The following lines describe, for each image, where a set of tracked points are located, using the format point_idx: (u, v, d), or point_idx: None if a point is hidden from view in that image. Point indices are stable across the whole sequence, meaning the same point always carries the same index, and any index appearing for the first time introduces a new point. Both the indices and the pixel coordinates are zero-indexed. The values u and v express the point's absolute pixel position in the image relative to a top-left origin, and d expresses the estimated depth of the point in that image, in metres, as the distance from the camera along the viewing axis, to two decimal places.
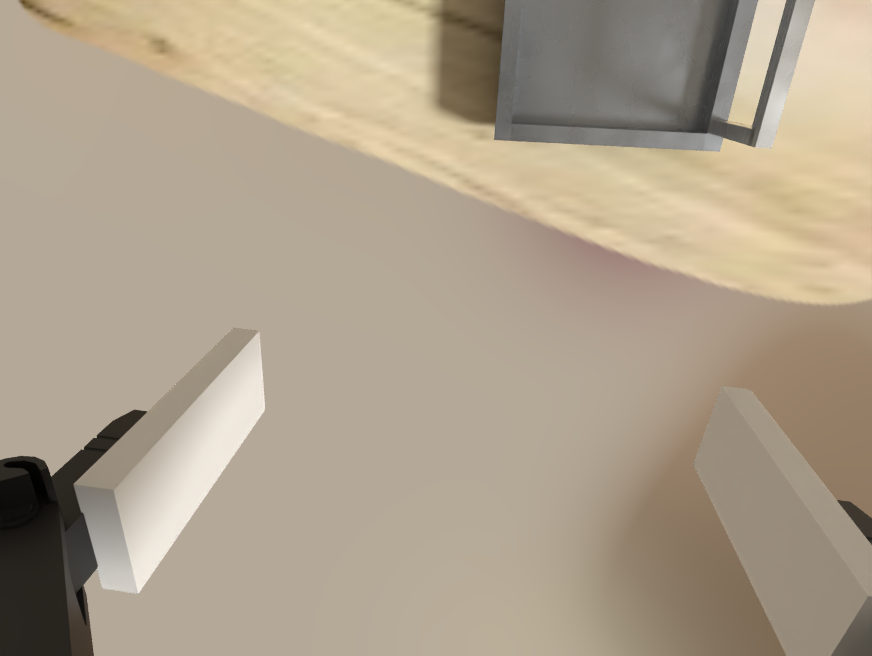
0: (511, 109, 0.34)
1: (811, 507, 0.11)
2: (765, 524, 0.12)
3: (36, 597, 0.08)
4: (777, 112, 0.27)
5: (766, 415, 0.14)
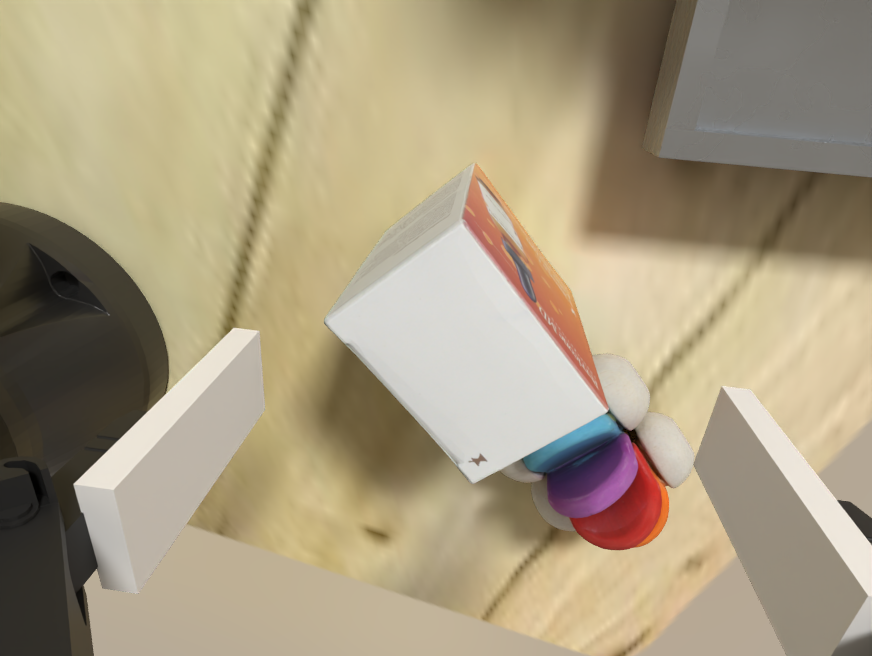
0: None
1: (811, 507, 0.11)
2: (765, 524, 0.12)
3: (36, 597, 0.08)
4: None
5: (766, 415, 0.14)
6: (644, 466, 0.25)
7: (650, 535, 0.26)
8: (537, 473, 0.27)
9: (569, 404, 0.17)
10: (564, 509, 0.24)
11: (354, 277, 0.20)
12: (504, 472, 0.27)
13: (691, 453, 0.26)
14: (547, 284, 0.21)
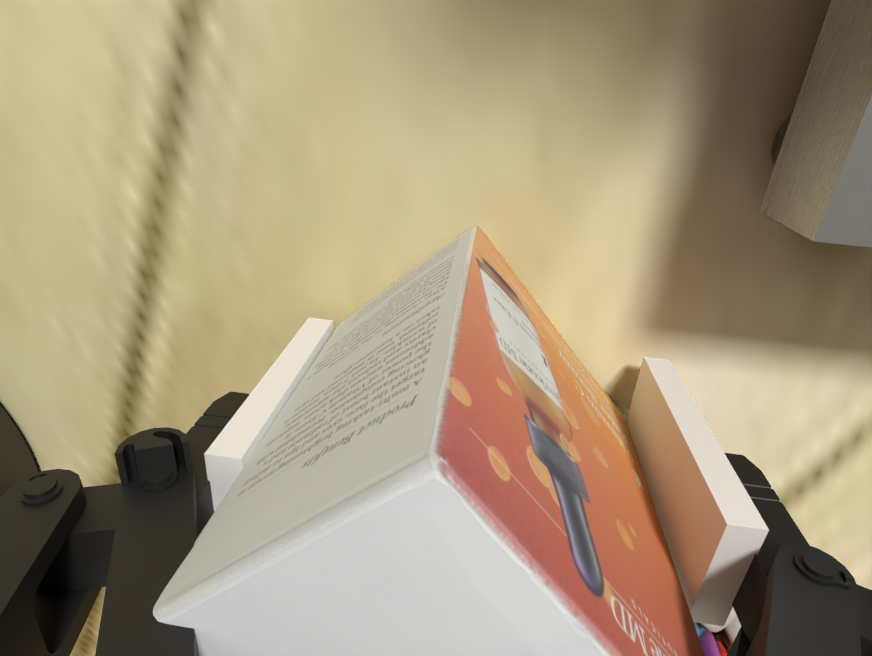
0: None
1: (697, 455, 0.12)
2: (666, 476, 0.13)
3: (169, 559, 0.09)
4: None
5: (678, 381, 0.15)
6: None
7: None
8: None
9: None
10: None
11: (252, 459, 0.11)
12: None
13: None
14: (603, 460, 0.12)
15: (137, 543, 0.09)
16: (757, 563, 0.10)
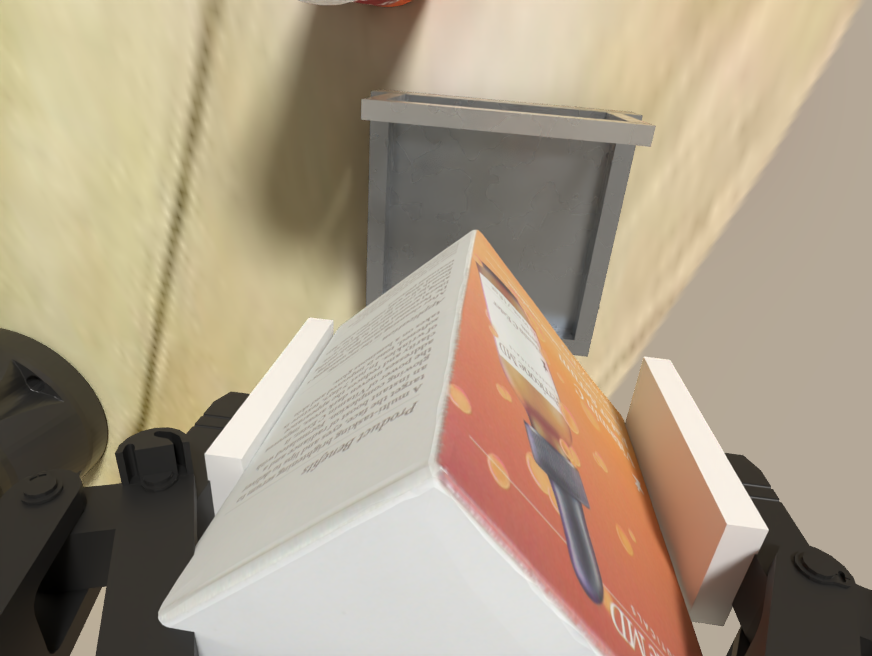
0: None
1: (697, 455, 0.12)
2: (666, 476, 0.13)
3: (169, 559, 0.09)
4: (612, 127, 0.22)
5: (678, 381, 0.15)
6: None
7: None
8: None
9: None
10: None
11: (252, 464, 0.11)
12: None
13: None
14: (602, 465, 0.12)
15: (138, 543, 0.09)
16: (757, 562, 0.10)
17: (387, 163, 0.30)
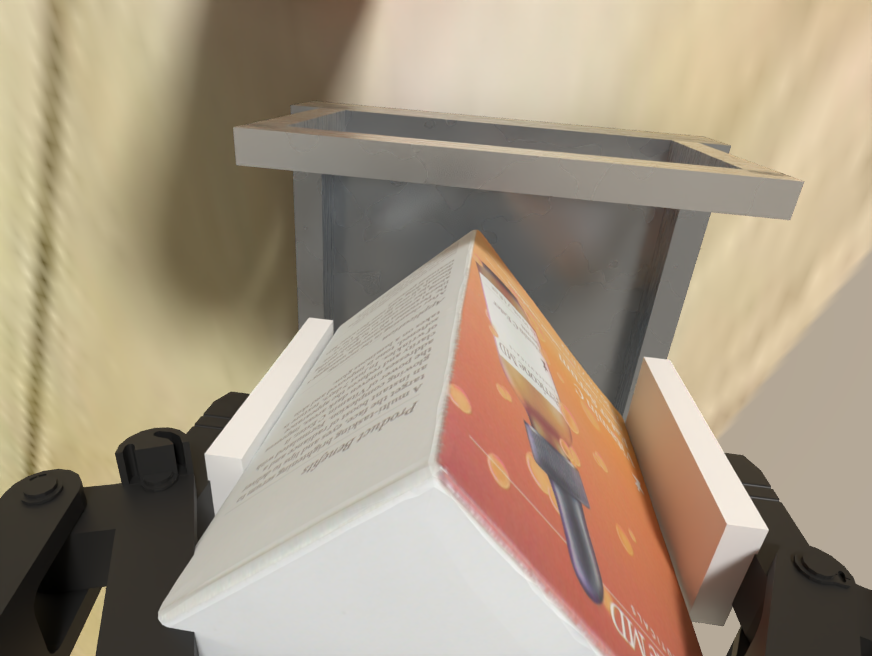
0: None
1: (697, 455, 0.12)
2: (666, 476, 0.13)
3: (169, 559, 0.09)
4: (716, 183, 0.11)
5: (678, 381, 0.15)
6: None
7: None
8: None
9: None
10: None
11: (252, 464, 0.11)
12: None
13: None
14: (602, 465, 0.12)
15: (138, 543, 0.09)
16: (757, 563, 0.10)
17: (323, 216, 0.19)
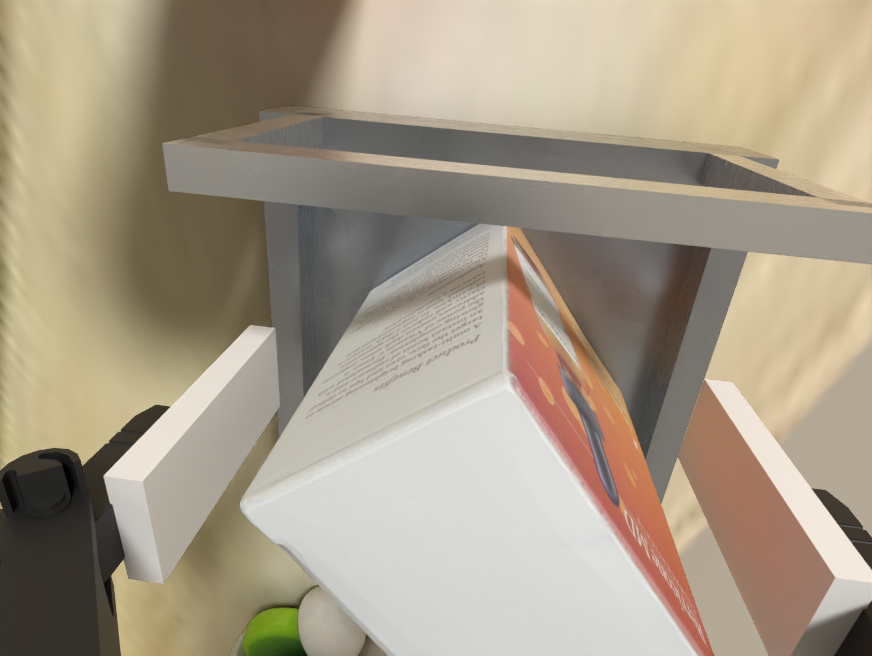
0: None
1: (785, 494, 0.11)
2: (742, 512, 0.12)
3: (66, 587, 0.08)
4: (789, 218, 0.09)
5: (746, 407, 0.14)
6: None
7: None
8: None
9: None
10: None
11: (310, 393, 0.12)
12: None
13: None
14: (610, 418, 0.13)
15: (29, 574, 0.08)
16: (867, 619, 0.09)
17: (299, 239, 0.17)
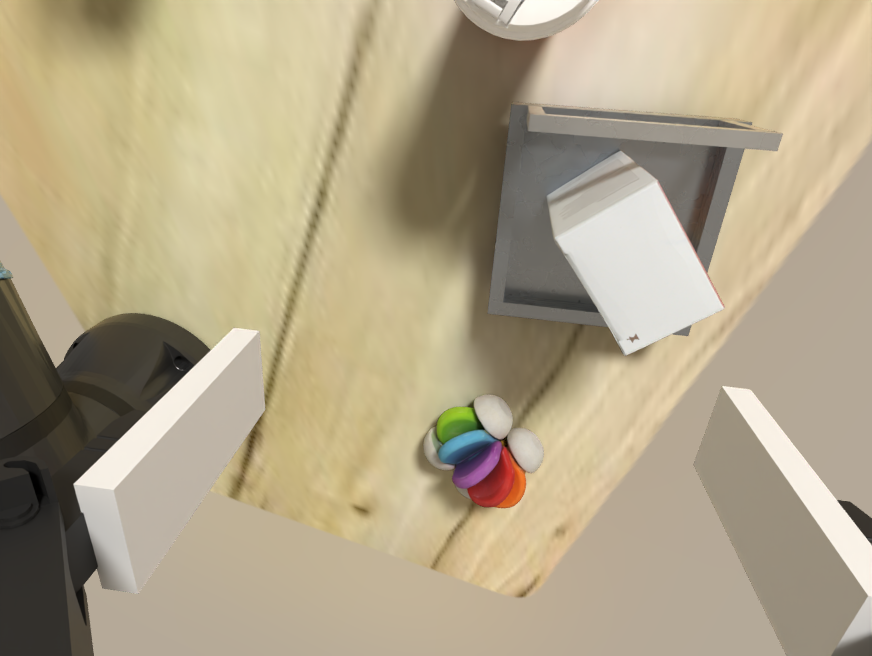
0: None
1: (811, 507, 0.11)
2: (765, 524, 0.12)
3: (36, 597, 0.08)
4: (744, 135, 0.26)
5: (766, 415, 0.14)
6: (506, 460, 0.44)
7: (514, 500, 0.45)
8: (450, 464, 0.46)
9: (700, 302, 0.27)
10: (457, 484, 0.43)
11: (554, 218, 0.30)
12: (432, 464, 0.47)
13: (538, 452, 0.45)
14: None
15: None
16: None
17: (520, 166, 0.35)
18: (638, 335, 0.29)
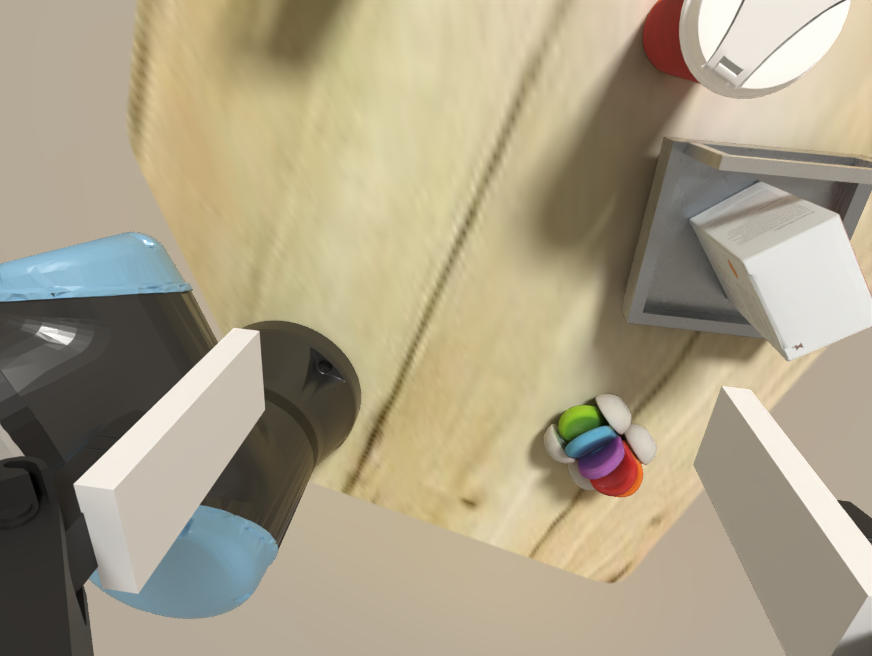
0: None
1: (811, 507, 0.11)
2: (765, 523, 0.12)
3: (36, 597, 0.08)
4: None
5: (766, 415, 0.14)
6: (628, 453, 0.49)
7: (633, 490, 0.50)
8: (572, 458, 0.51)
9: (862, 316, 0.32)
10: (587, 475, 0.48)
11: (725, 242, 0.35)
12: (554, 458, 0.51)
13: (654, 446, 0.50)
14: None
15: None
16: None
17: None
18: (803, 344, 0.34)
